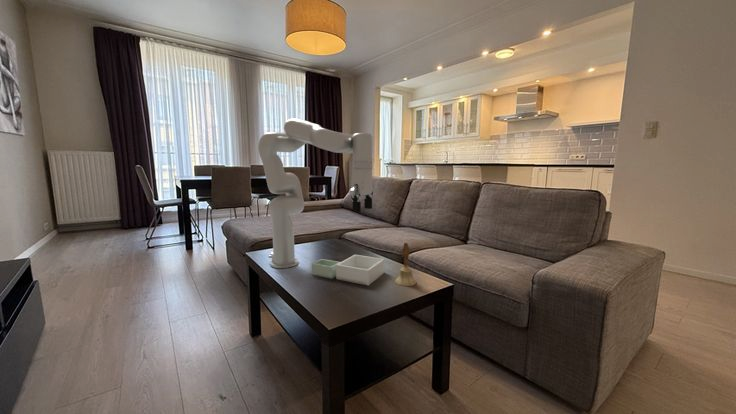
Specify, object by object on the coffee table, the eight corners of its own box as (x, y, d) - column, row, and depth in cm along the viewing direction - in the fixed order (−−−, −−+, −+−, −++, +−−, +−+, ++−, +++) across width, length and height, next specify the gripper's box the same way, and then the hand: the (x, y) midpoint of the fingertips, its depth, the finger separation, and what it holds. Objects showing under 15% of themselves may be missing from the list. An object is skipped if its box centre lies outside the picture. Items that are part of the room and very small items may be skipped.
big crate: (336, 279, 123) (336, 264, 122) (355, 267, 137) (354, 254, 136) (368, 285, 116) (368, 270, 115) (384, 272, 130) (384, 259, 129)
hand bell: (406, 288, 114) (407, 247, 112) (390, 281, 120) (391, 242, 118) (420, 282, 119) (421, 243, 117) (405, 276, 126) (405, 239, 123)
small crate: (311, 274, 127) (311, 263, 127) (321, 269, 134) (321, 258, 133) (331, 278, 123) (331, 267, 122) (340, 273, 129) (340, 262, 128)
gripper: (364, 165, 125) (364, 206, 128) (342, 166, 110) (342, 212, 112) (380, 166, 122) (380, 208, 124) (360, 166, 106) (360, 214, 109)
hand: (362, 210), depth 118 cm, fingers open, 9 cm apart
